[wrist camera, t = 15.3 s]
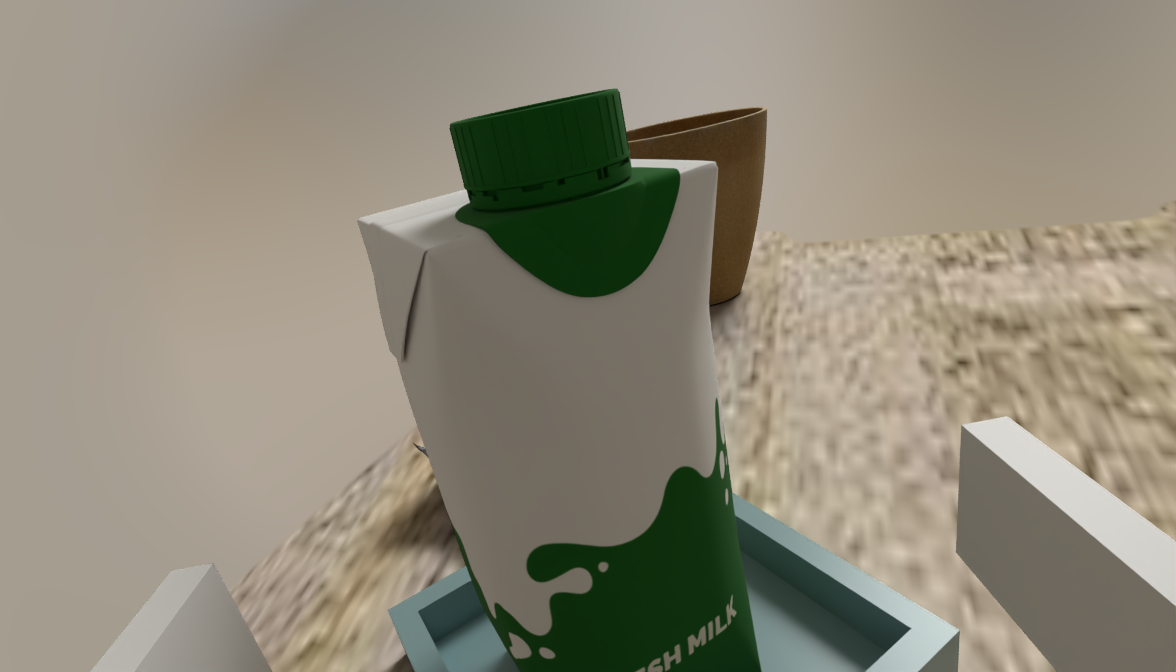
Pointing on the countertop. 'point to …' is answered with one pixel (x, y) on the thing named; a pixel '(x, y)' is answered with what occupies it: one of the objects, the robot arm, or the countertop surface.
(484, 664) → the tray
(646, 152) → the plant pot
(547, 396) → the milk carton
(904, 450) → the countertop surface
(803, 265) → the countertop surface
